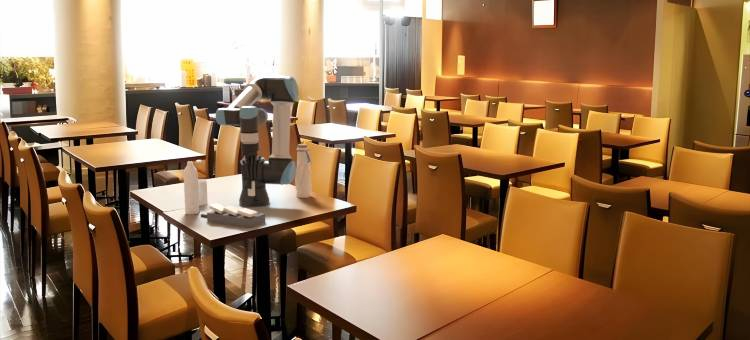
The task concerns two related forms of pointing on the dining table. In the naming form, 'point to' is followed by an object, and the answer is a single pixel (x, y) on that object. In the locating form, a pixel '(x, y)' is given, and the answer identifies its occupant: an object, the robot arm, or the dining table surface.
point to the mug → (202, 192)
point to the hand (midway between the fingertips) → (251, 195)
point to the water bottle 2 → (303, 172)
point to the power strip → (235, 219)
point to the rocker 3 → (247, 212)
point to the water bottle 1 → (191, 188)
